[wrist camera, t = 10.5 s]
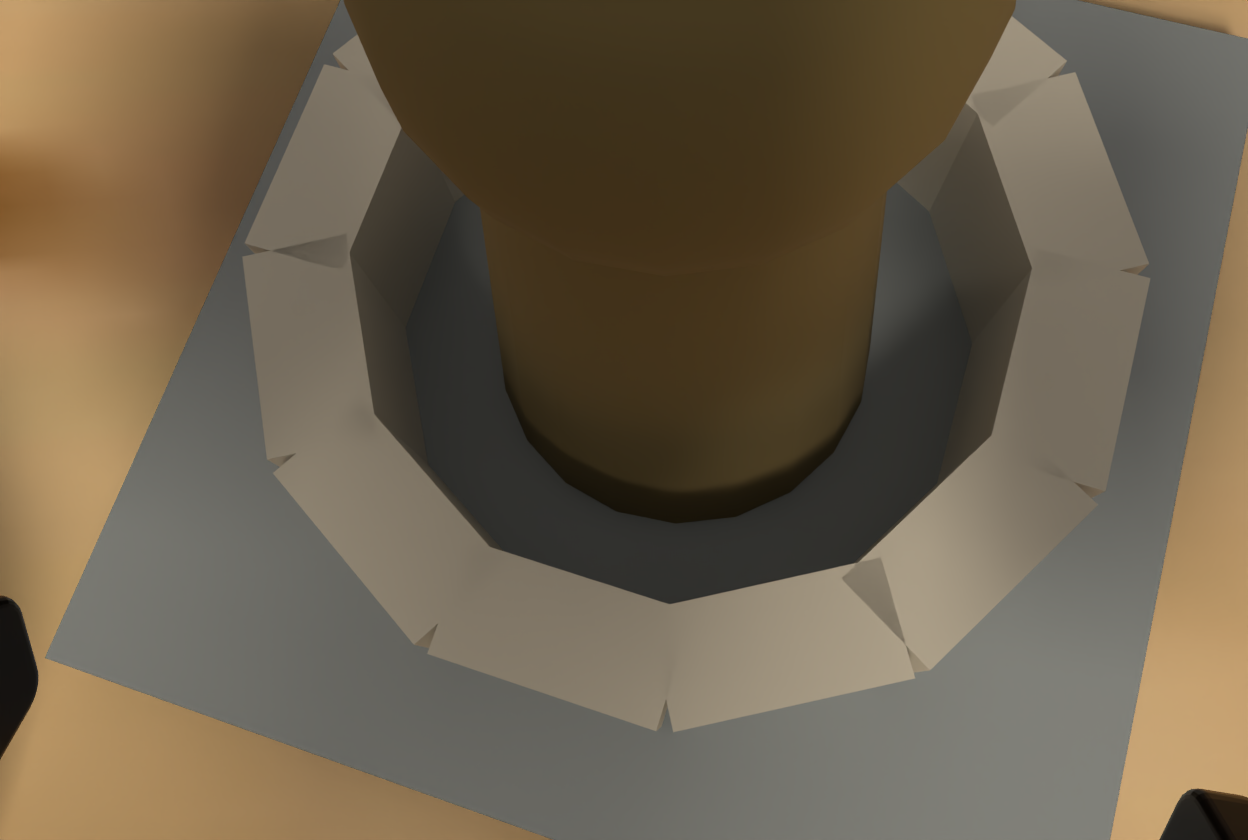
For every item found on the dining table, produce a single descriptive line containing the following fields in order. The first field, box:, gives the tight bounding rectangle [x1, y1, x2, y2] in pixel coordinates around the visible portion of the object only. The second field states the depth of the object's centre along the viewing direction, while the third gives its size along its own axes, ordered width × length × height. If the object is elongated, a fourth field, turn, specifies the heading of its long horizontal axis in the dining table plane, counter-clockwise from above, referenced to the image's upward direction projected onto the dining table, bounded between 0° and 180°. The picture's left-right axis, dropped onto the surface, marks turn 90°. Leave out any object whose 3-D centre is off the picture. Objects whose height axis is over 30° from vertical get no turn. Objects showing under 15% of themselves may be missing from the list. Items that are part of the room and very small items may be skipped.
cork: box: [344, 0, 1016, 524], centre depth 12 cm, size 6×6×11 cm
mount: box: [45, 0, 1248, 840], centre depth 16 cm, size 16×16×4 cm
